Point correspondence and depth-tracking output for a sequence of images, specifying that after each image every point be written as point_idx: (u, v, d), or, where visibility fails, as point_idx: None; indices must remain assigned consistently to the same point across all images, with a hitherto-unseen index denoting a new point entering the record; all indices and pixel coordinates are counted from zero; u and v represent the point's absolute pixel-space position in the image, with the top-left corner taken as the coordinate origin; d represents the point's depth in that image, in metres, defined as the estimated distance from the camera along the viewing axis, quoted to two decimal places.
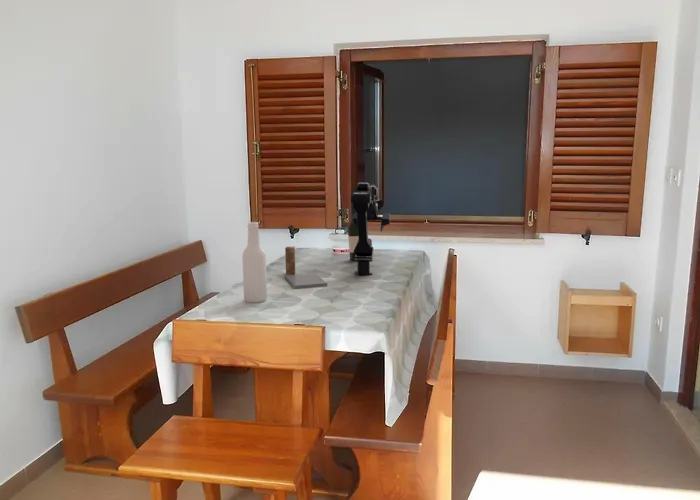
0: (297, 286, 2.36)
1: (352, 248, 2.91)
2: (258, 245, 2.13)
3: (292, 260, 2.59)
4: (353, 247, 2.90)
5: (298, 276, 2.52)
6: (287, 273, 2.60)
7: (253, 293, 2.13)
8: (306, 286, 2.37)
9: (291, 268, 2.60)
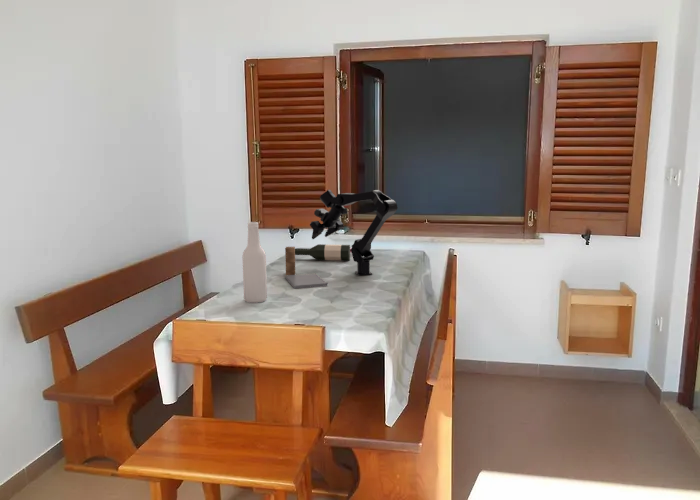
0: (297, 286, 2.36)
1: (336, 259, 2.92)
2: (258, 245, 2.13)
3: (292, 260, 2.59)
4: (335, 258, 2.92)
5: (298, 276, 2.52)
6: (287, 273, 2.60)
7: (253, 293, 2.13)
8: (306, 286, 2.37)
9: (291, 268, 2.60)
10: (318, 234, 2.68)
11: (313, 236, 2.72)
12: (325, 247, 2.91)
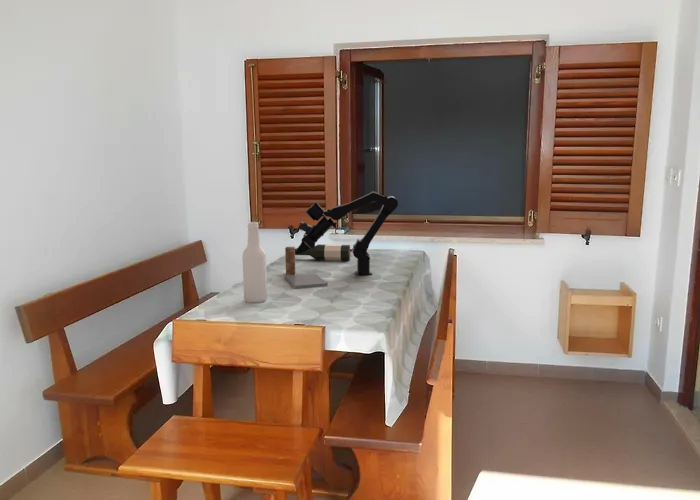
0: (297, 286, 2.36)
1: (336, 259, 2.92)
2: (258, 245, 2.13)
3: (292, 260, 2.59)
4: (335, 258, 2.92)
5: (298, 276, 2.52)
6: (287, 273, 2.60)
7: (253, 293, 2.13)
8: (306, 286, 2.37)
9: (291, 268, 2.60)
10: (309, 249, 2.54)
11: (299, 251, 2.55)
12: (325, 248, 2.91)
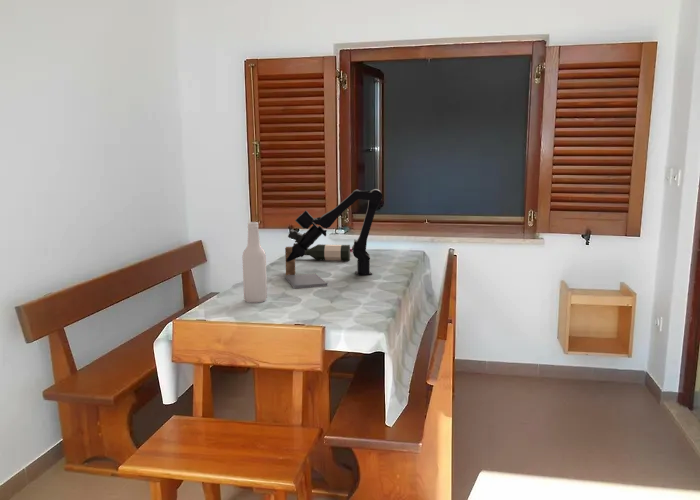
0: (297, 286, 2.36)
1: (336, 259, 2.92)
2: (258, 245, 2.13)
3: (292, 260, 2.59)
4: (335, 258, 2.92)
5: (298, 276, 2.52)
6: (287, 273, 2.60)
7: (253, 293, 2.13)
8: (306, 286, 2.37)
9: (291, 268, 2.60)
10: (299, 256, 2.57)
11: (289, 258, 2.58)
12: (325, 248, 2.91)
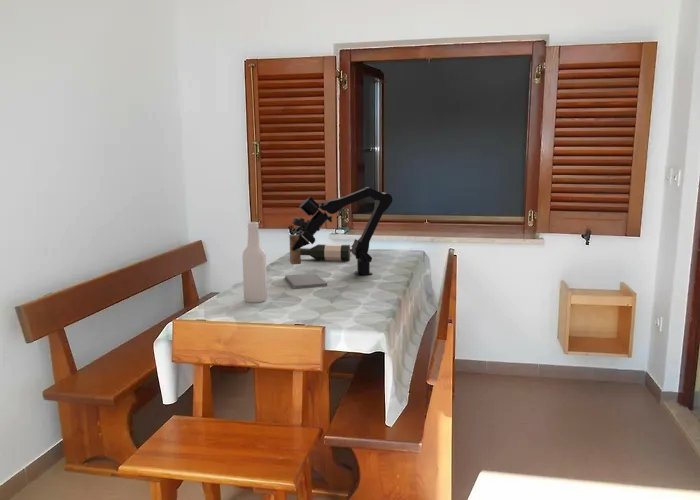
0: (297, 286, 2.36)
1: (336, 259, 2.92)
2: (258, 245, 2.13)
3: (298, 249, 2.50)
4: (335, 258, 2.92)
5: (298, 276, 2.52)
6: (293, 262, 2.51)
7: (253, 293, 2.13)
8: (306, 286, 2.37)
9: (297, 257, 2.51)
10: (307, 244, 2.49)
11: (296, 247, 2.49)
12: (325, 248, 2.91)
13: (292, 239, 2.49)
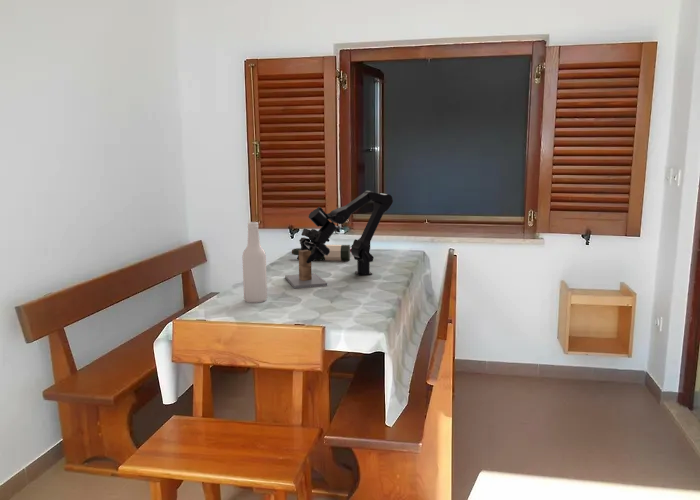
0: (297, 286, 2.36)
1: (336, 259, 2.92)
2: (258, 245, 2.13)
3: (309, 264, 2.45)
4: (335, 258, 2.92)
5: (298, 276, 2.52)
6: (304, 278, 2.45)
7: (253, 293, 2.13)
8: (306, 286, 2.37)
9: (308, 273, 2.45)
10: (321, 256, 2.42)
11: (310, 260, 2.41)
12: None
13: (304, 255, 2.43)
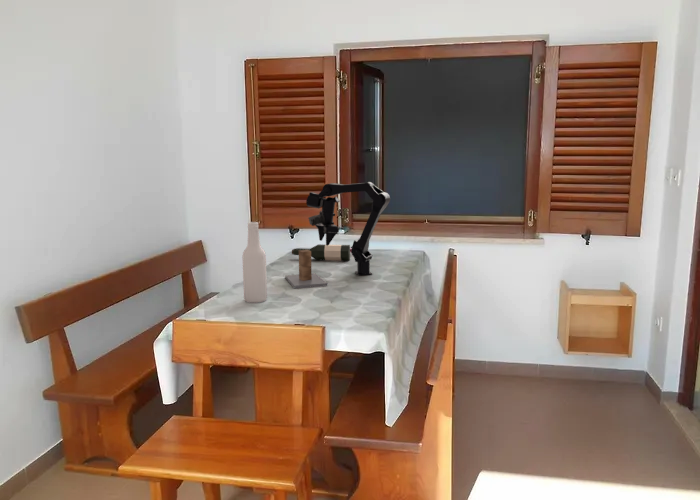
0: (297, 286, 2.36)
1: (336, 259, 2.92)
2: (258, 245, 2.13)
3: (309, 264, 2.45)
4: (335, 258, 2.92)
5: (298, 276, 2.52)
6: (304, 278, 2.45)
7: (253, 293, 2.13)
8: (306, 286, 2.37)
9: (308, 273, 2.45)
10: (335, 234, 2.61)
11: (328, 241, 2.62)
12: (325, 248, 2.91)
13: (304, 255, 2.43)
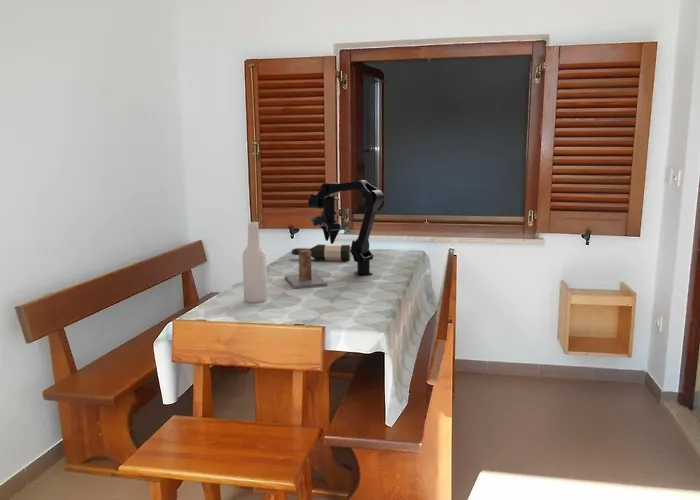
0: (297, 286, 2.36)
1: (336, 259, 2.92)
2: (258, 245, 2.13)
3: (309, 264, 2.45)
4: (335, 258, 2.92)
5: (298, 276, 2.52)
6: (304, 278, 2.45)
7: (253, 293, 2.13)
8: (306, 286, 2.37)
9: (308, 273, 2.45)
10: (338, 231, 2.64)
11: (332, 240, 2.65)
12: (325, 248, 2.91)
13: (304, 255, 2.43)
